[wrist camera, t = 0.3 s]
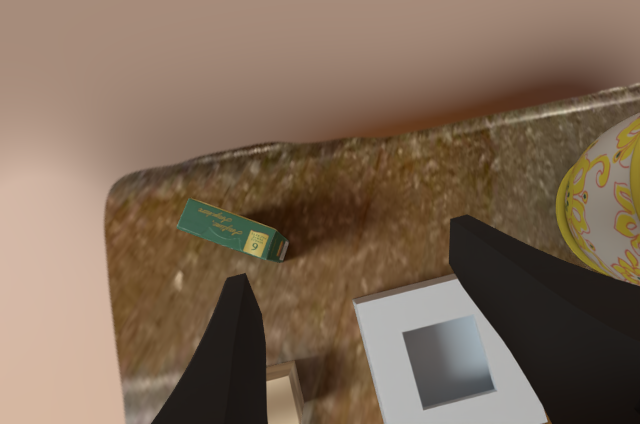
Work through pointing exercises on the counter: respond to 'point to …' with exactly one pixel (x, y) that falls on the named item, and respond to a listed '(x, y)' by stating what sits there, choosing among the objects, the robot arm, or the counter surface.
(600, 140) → the flowerpot
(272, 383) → the maple block
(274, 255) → the coffee box
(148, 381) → the counter surface
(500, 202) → the counter surface
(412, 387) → the slot box
